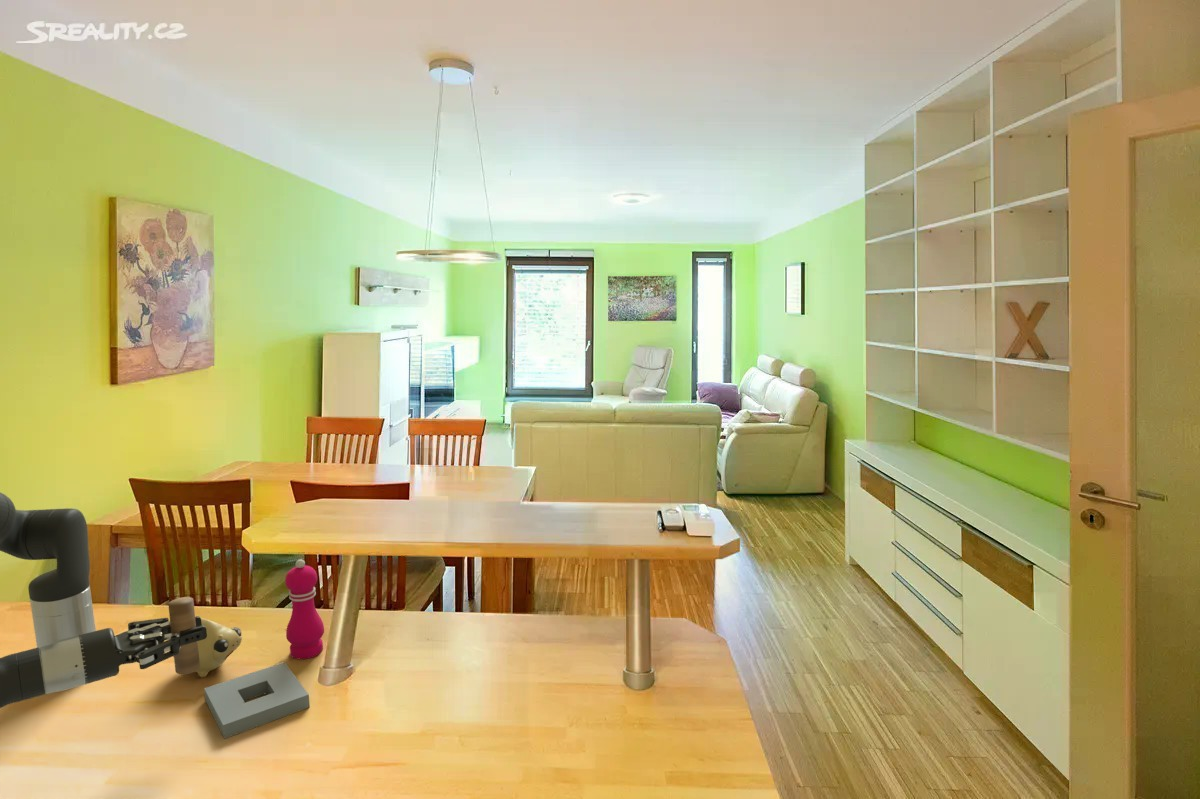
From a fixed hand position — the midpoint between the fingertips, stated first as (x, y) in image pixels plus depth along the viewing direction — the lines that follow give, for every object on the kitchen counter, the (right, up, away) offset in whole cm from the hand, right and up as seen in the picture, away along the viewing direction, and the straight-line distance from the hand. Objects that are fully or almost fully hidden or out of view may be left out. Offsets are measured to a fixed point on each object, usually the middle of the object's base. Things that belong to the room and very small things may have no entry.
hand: (202, 626), depth 123 cm
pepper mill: (+7, -14, +27) cm, 31 cm away
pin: (-2, -7, -1) cm, 7 cm away
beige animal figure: (-9, -15, +20) cm, 26 cm away
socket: (+5, -17, +9) cm, 19 cm away
